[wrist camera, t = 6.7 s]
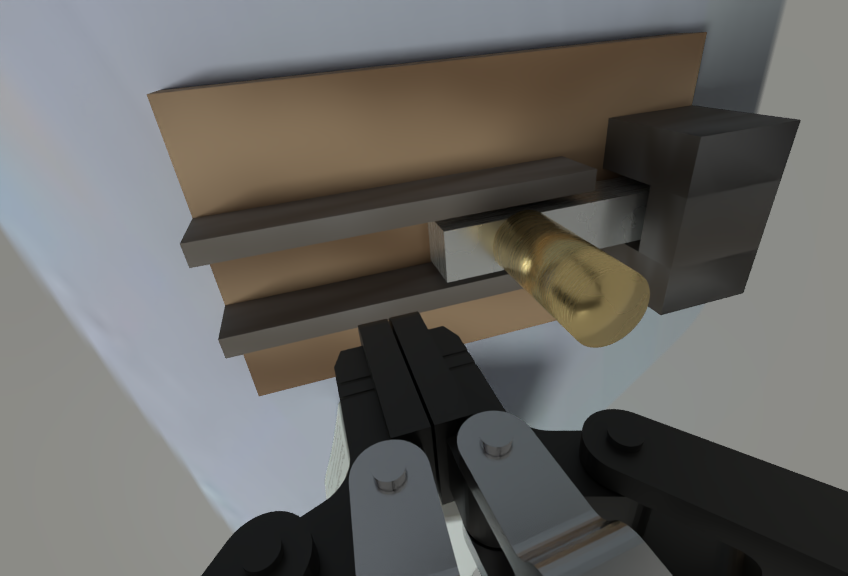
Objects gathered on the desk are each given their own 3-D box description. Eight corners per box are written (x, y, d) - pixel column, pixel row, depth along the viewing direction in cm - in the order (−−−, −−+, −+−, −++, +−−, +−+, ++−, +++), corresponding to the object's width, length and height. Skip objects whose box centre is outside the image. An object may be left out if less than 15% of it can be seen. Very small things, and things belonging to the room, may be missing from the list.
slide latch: (426, 208, 16) (510, 296, 10) (670, 163, 19) (852, 215, 13) (431, 264, 18) (508, 372, 12) (660, 216, 20) (822, 286, 14)
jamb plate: (158, 90, 14) (91, 113, 9) (677, 33, 18) (831, 26, 13) (260, 374, 20) (254, 483, 15) (632, 283, 24) (725, 344, 19)
